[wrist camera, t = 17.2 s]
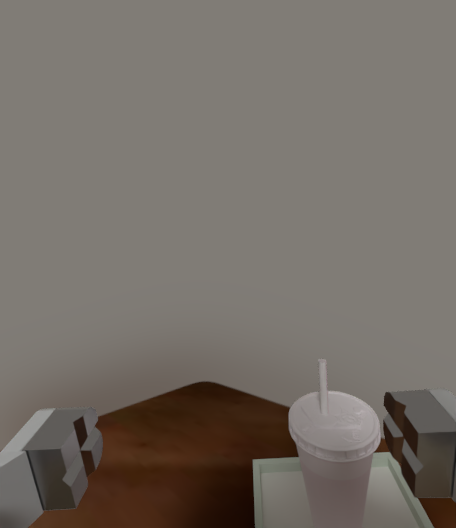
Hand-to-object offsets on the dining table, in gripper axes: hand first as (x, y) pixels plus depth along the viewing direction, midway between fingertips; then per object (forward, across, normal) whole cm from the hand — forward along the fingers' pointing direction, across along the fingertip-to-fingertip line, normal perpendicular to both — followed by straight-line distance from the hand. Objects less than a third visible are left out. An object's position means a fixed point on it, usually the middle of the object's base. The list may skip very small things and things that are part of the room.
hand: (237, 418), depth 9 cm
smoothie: (+13, -6, +21) cm, 25 cm away
